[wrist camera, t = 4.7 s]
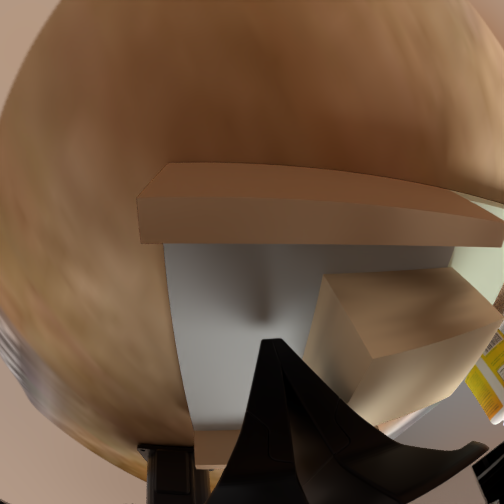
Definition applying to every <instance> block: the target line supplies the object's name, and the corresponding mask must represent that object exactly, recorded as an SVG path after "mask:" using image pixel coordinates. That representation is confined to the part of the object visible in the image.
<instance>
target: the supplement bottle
mask: <svg viewBox="0 0 504 504" xmlns="http://www.w3.org/2000/svg"><path fill="white" fill-rule="evenodd" d="M464 381H465V382H466V384H467V385H468V387H469V388H470V390H471V391H472V393H473V394H474V396H475V397H476V399H477V400H478V402H479V403H480V405H481V407H482V408H483V410H484V411H485V413H486V415H487V416H488V418H489V420H490V421H491V423H492V424H498V423H500V422H501V421H502V420H503V421H504V334H503V333H502V332H501V331H500V330H499V329H498V330H497V332H496V333H495V335H494V337H493V338H492V340H491V341H490V343H489V345H488V346H487V348H486V349H485V351H484V352H483V354H482V355H481V356H480V358H479V359H478V361H477V362H476V364H475V365H474V366H473V368H472V369H471V370H470V372H469V373H468V374H467V376H466V377H465V378H464ZM503 425H504V423H503Z"/></svg>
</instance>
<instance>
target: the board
mask: <svg viewBox="0 0 504 504" xmlns="http://www.w3.org/2000/svg"><path fill="white" fill-rule="evenodd" d="M137 210H138V221H139V231H140V240H141V244H163V245H164V257H165V267H166V276H167V285H168V294H169V302H170V309H171V316H172V323H173V330H174V336H175V342H176V348H177V354H178V359H179V365H180V370H181V375H182V380H183V385H184V390H185V395H186V399H187V404H188V408H189V412H190V417H191V421H192V425H193V429H194V453H195V466H196V469H225V467H226V465H227V462H228V460H229V458H230V456H231V453H232V451H233V449H234V446H235V444H236V441H237V439H238V436H239V434H240V430H241V427H242V423H243V420H244V415H245V412H246V407H247V403H248V398H249V394H250V389H251V385H252V380H253V376H254V371H255V366H256V362H257V357H258V352H259V348H260V343H261V340H262V339H272V338H282V339H283V340H284V341H285V342H286V343H287V344H288V345H289V346H290V347H291V348H292V349H293V351H294V352H295V353H296V354H297V355H298V356H299V357H300V358H301V359H302V358H303V354H304V351H305V347H306V343H307V340H308V336H309V332H310V328H311V324H312V320H313V316H314V312H315V308H316V304H317V300H318V295H319V291H320V286H321V282H322V277H323V274H341V273H363V272H382V271H400V270H416V269H431V268H445V267H452V268H453V269H455V270H456V271H457V272H458V273H459V274H460V275H461V276H462V277H464V278H465V279H466V280H467V281H468V282H469V283H470V284H471V285H472V286H473V287H474V288H475V289H477V290H478V291H479V292H480V293H481V294H482V295H483V296H484V297H485V298H486V299H487V300H488V301H489V302H490V303H491V304H492V305H493V304H494V302H495V300H496V298H497V296H498V294H499V292H500V290H501V287H502V285H503V283H504V204H501V203H498V202H494V201H491V200H487V199H484V198H480V197H476V196H472V195H469V194H465V193H461V192H457V191H452V190H448V189H444V188H439V187H434V186H430V185H425V184H420V183H415V182H410V181H404V180H399V179H393V178H387V177H381V176H374V175H367V174H360V173H353V172H345V171H337V170H328V169H318V168H308V167H297V166H284V165H268V164H248V163H205V162H193V163H168V164H167V165H166V166H165V167H164V168H163V169H162V170H161V171H160V172H159V173H158V174H157V175H156V176H155V178H154V179H153V180H152V181H151V182H150V183H149V184H148V185H147V186H146V188H145V189H144V190H143V191H142V192H141V193H140V194H139V196H138V197H137ZM374 427H375V428H377V429H378V426H377V425H376V426H374ZM378 430H379V429H378Z"/></svg>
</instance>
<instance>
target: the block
mask: <svg viewBox="0 0 504 504" xmlns="http://www.w3.org/2000/svg"><path fill="white" fill-rule="evenodd" d="M503 320H504V317H503V315H502V314H501V313H500V312H499V311H498V310H497V309H496V308H495V307H494V306H493V305H492V304H491V303H490V302H489V301H488V300H487V299H486V298H485V297H484V296H483V295H482V294H481V293H480V292H479V291H478V290H477V289H475V288H474V287H473V286H472V285H471V284H470V283H469V282H468V281H467V280H466V279H465V278H464V277H462V276H461V275H460V274H459V273H458V272H457V271H456V270H455V269H453V268H452V267H445V268H431V269H416V270H400V271H382V272H363V273H341V274H323V277H322V282H321V286H320V291H319V295H318V300H317V304H316V308H315V312H314V316H313V320H312V324H311V328H310V332H309V336H308V340H307V343H306V347H305V351H304V354H303V358H302V360H303V361H304V362H305V363H306V364H307V365H308V366H309V367H310V368H311V369H312V370H313V371H314V372H315V373H316V374H317V375H318V376H319V377H320V378H321V379H322V380H323V381H324V382H325V383H326V384H327V385H328V386H329V387H330V388H331V389H332V390H333V391H334V392H335V393H336V394H337V395H338V396H339V398H341V399H342V400H343V401H344V402H345V403H346V404H347V405H348V406H349V407H350V408H351V409H353V410H354V411H355V412H356V413H357V414H358V415H360V416H361V417H362V418H363V419H365V420H366V421H367V422H368V423H370V424H371V425H373V426H376V425H379V424H383V423H386V422H388V421H391V420H394V419H397V418H400V417H402V416H405V415H408V414H410V413H413V412H415V411H418V410H420V409H422V408H425V407H427V406H429V405H432V404H434V403H436V402H438V401H440V400H442V399H444V398H447V397H449V396H450V395H451V394H452V393H453V392H454V391H455V389H456V388H457V387H458V386H459V385H460V383H461V382H462V381H463V380H464V378H465V377H466V376H467V374H468V373H469V372H470V370H471V369H472V368H473V366H474V365H475V364H476V362H477V361H478V359H479V358H480V356H481V355H482V354H483V352H484V351H485V349H486V348H487V346H488V345H489V343H490V341H491V340H492V338H493V337H494V335H495V333H496V332H497V330H498V328H499V327H500V325H501V323H502V322H503Z"/></svg>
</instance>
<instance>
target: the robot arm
mask: <svg viewBox="0 0 504 504" xmlns="http://www.w3.org/2000/svg"><path fill="white" fill-rule="evenodd" d="M137 450H138V451H139V453H140V454H141V455H142V456H143V458H144V459H145V460H146V461H147V462H148V466H147V502H146V503H147V504H504V441H503V442H502V443H500V444H499V445H498V446H497V447H495V448H494V449H493V450H492V451H490V452H489V453H488V454H486V455H485V456H484V457H483V458H481V459H480V460H479V461H477V462H476V463H475V464H473V465H472V466H471V463H473V462H474V461H475V460H477V459H478V458H479V457H480V456H482V455H483V454H484V453H485V452H486V451H488V450H489V447H488V446H487V445H485V444H483V443H480V442H476V441H472V442H470V443H469V444H467V445H466V446H464V447H463V448H461V449H459V450H453V451H444V450H435V449H427V448H420V447H414V446H408V445H403V444H400V443H398V442H396V441H394V440H392V439H391V438H389V437H388V436H386V435H385V434H384V433H382V432H381V431H379V430H378V429H377V428H375V427H374V426H373V425H371V424H370V423H368V422H367V421H366V420H365V419H363V418H362V417H361V416H360V415H358V414H357V413H356V412H355V411H354V410H353V409H351V408H350V407H349V406H348V405H347V404H346V403H345V402H344V401H343V400H342V399H341V398H339V396H338V395H337V394H336V393H335V392H334V391H333V390H332V389H331V388H330V387H329V386H328V385H327V384H326V383H325V382H324V381H323V380H322V379H321V378H320V377H319V376H318V375H317V374H316V373H315V372H314V371H313V370H312V369H311V368H310V367H309V366H308V365H307V364H306V363H305V362H304V361H303V360H302V359H301V358H300V357H299V356H298V355H297V354H296V353H295V352H294V351H293V349H292V348H291V347H290V346H289V345H288V344H287V343H286V342H285V341H284V340H283V339H282V338H272V339H262V340H261V343H260V348H259V352H258V357H257V362H256V366H255V371H254V376H253V380H252V385H251V389H250V394H249V398H248V403H247V407H246V412H245V415H244V420H243V423H242V427H241V430H240V434H239V436H238V439H237V441H236V444H235V446H234V449H233V451H232V453H231V456H230V458H229V460H228V462H227V465H226V467H225V469H224V471H223V473H222V475H221V477H220V479H219V481H218V483H217V485H216V487H215V488H214V490H213V491H212V493H211V491H210V478H209V471H213V470H214V469H196V466H195V453H194V448H177V447H161V446H150V445H137ZM0 504H9V503H7V502H5V501H3V500H1V499H0Z"/></svg>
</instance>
